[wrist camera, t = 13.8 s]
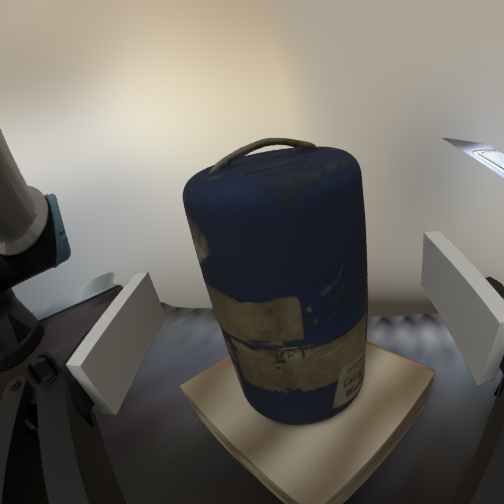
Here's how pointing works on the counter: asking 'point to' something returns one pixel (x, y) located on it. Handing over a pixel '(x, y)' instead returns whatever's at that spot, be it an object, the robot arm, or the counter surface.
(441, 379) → the counter surface
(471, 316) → the robot arm
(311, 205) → the canister
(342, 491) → the dock
